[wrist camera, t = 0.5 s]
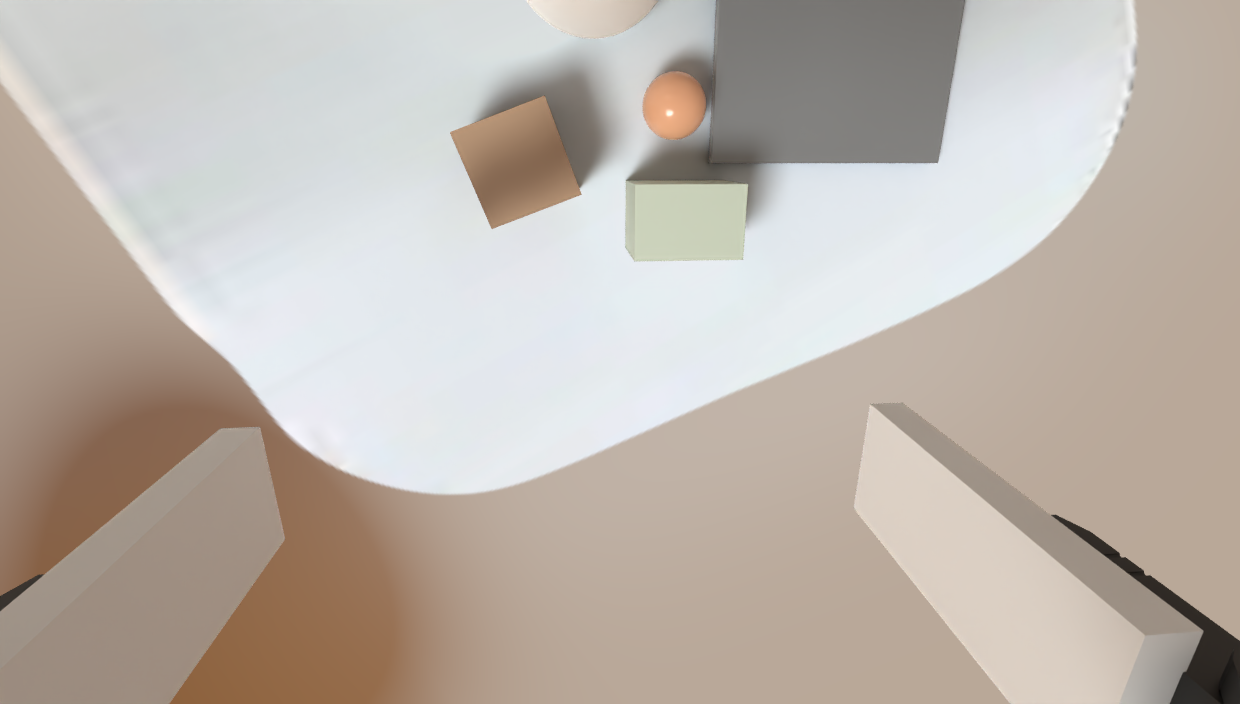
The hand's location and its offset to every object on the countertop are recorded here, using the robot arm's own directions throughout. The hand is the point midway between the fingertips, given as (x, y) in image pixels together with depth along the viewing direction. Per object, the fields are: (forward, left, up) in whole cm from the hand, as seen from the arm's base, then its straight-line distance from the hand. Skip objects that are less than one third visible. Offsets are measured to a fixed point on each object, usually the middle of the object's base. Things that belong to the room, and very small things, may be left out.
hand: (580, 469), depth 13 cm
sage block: (-3, +7, -25) cm, 26 cm away
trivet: (-13, +16, -25) cm, 32 cm away
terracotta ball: (-9, +6, -23) cm, 26 cm away
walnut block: (-6, -2, -25) cm, 26 cm away
